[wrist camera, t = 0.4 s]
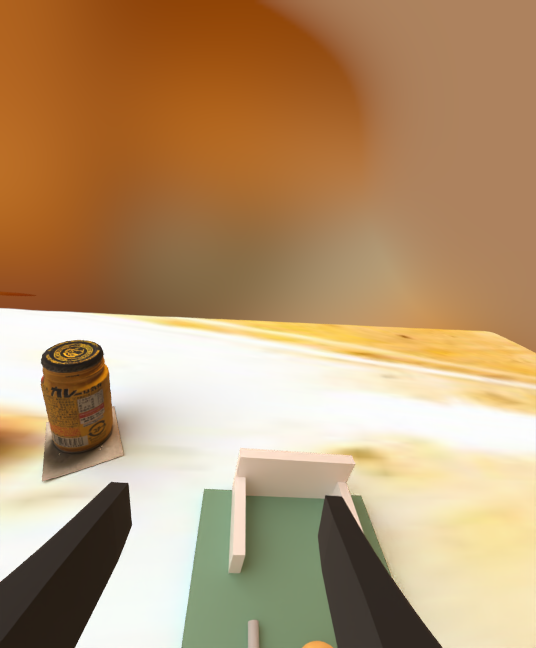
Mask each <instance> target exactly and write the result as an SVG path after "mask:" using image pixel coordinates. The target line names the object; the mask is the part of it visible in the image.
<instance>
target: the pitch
mask: <svg viewBox="0 0 536 648" xmlns="http://www.w3.org/2000/svg"><path fill="white" fill-rule="evenodd" d="M351 498H352V501H353V504H354V506H355V509H356V512H357V515H358V518H359V521H360V524H361V527H362V530H363V533H364V535H365V537H366V538H367V540H368V541H369V543H370V545H371V546H372V548H373V549H374V551H375V553H376V554H377V556H378V557H379V559H380V560H381V562H382V564H383V565H384V567H385V568H386V570H387V571H388V573H389V574H390V572H389V569H388V566H387V564H386V561H385V558H384V556H383V553H382V550H381V548H380V545H379V542H378V540H377V537H376V534H375V532H374V529H373V527H372V524H371V521H370V519H369V516H368V513H367V511H366V508H365V505H364V503H363V500H362V497H361V496H354V495H351ZM323 504H324V499H320V498H295V497H271V496H246V508H245V558H244V561H243V565H242V568H241V572H240V573H228V570H229V549H230V528H231V507H232V490H215V489H204V494H203V501H202V508H201V515H200V522H199V529H198V536H197V543H196V550H195V557H194V564H193V571H192V578H191V585H190V592H189V599H188V606H187V613H186V620H185V627H184V634H183V641H182V648H302V647H303V646H304V645H306V644H307V643H309V642H312V641H322V642H325V643H327V644H329V645H331V646H332V647H333V648H337V643H336V638H335V633H334V629H333V624H332V619H331V614H330V609H329V605H328V600H327V595H326V590H325V585H324V580H323V575H322V568H321V560H320V552H319V543H318V532H319V526H320V521H321V515H322V510H323ZM390 576H391V574H390Z"/></svg>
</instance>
